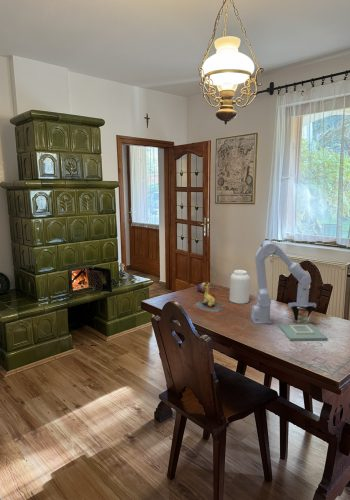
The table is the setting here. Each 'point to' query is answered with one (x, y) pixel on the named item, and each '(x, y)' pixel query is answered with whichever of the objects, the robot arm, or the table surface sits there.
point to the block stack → (302, 316)
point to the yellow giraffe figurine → (208, 299)
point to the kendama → (204, 290)
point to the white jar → (239, 287)
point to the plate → (302, 332)
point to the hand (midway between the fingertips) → (301, 319)
